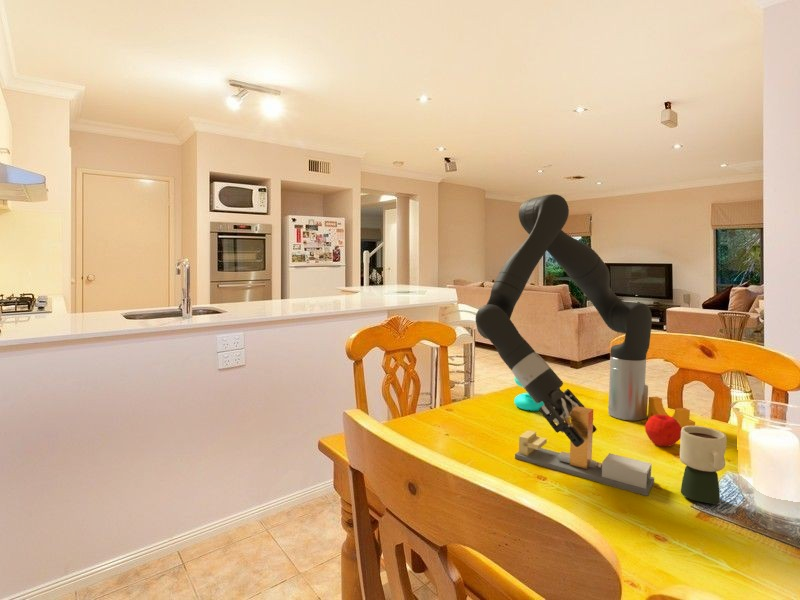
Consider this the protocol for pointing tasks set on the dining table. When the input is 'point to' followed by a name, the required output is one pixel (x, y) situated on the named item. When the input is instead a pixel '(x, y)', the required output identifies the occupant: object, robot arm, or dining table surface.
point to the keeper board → (613, 470)
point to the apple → (663, 430)
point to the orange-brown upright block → (584, 427)
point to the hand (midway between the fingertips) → (587, 438)
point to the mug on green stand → (702, 462)
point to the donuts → (526, 401)
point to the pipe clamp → (657, 409)
